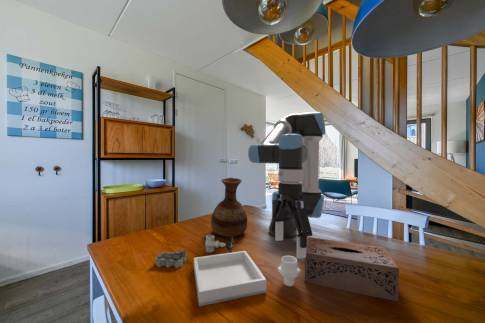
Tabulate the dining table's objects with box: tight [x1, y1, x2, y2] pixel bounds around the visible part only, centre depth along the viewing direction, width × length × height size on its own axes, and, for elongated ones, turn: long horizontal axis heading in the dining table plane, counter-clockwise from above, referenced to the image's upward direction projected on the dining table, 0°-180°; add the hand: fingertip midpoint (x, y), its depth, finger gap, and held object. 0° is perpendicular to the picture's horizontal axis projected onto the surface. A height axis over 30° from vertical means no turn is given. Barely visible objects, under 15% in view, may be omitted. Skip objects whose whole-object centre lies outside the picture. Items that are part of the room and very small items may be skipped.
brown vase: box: [210, 177, 248, 238], centre depth 111 cm, size 20×20×30 cm
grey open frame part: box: [154, 249, 188, 269], centre depth 79 cm, size 11×8×4 cm
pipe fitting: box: [277, 255, 301, 287], centre depth 67 cm, size 6×7×8 cm
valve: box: [204, 234, 235, 253], centre depth 89 cm, size 7×7×12 cm
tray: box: [193, 250, 267, 307], centre depth 68 cm, size 20×20×4 cm
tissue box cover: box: [304, 236, 400, 303], centre depth 70 cm, size 26×14×10 cm, turn 69°
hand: (289, 248), depth 66 cm, fingers open, 13 cm apart
